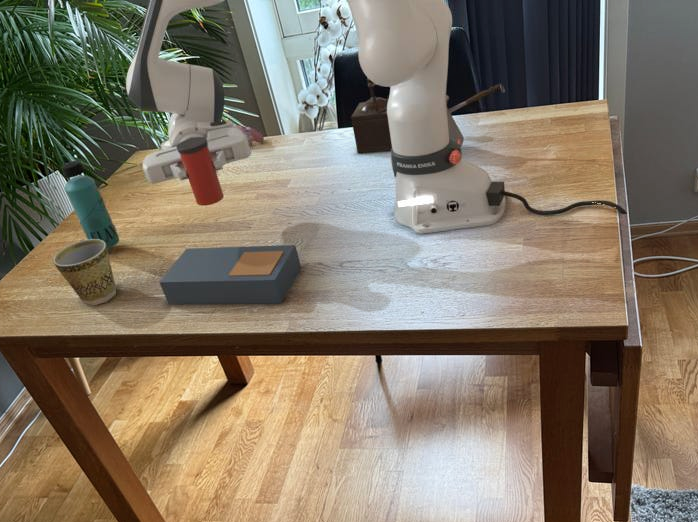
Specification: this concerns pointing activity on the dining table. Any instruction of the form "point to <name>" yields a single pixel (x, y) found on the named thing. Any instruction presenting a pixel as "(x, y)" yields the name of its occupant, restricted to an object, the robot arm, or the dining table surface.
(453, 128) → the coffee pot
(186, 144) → the red canister
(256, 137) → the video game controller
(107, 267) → the ceramic cup
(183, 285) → the platform
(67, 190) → the beverage bottle
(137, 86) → the robot arm
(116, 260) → the dining table surface
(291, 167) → the dining table surface
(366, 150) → the manual coffee grinder
